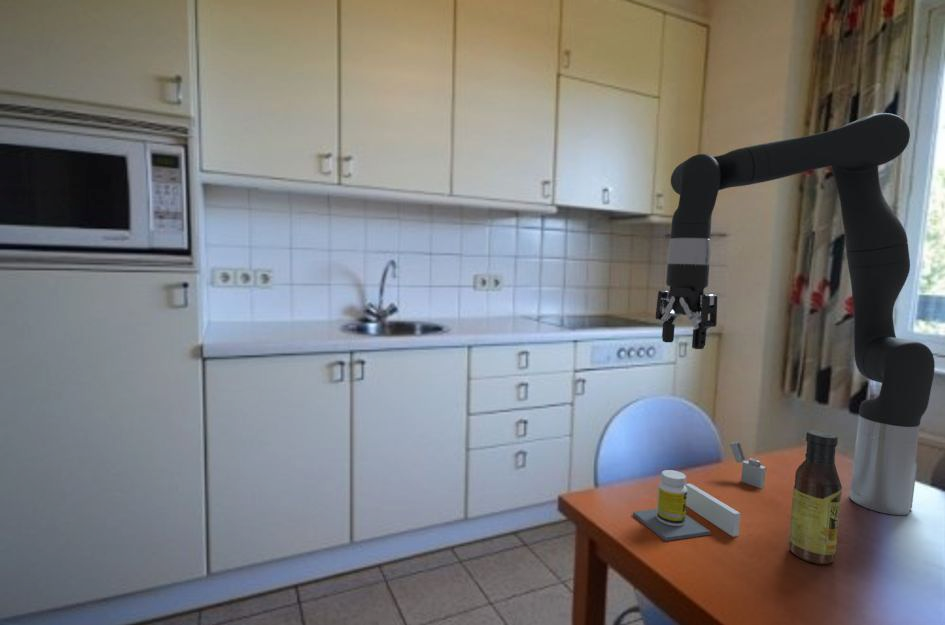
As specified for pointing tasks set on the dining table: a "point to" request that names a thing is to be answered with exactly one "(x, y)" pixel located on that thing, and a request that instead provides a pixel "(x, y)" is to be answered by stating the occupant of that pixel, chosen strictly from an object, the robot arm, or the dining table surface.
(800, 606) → the dining table surface
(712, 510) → the wall
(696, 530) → the coaster
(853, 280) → the robot arm
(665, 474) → the supplement bottle
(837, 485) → the sauce bottle
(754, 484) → the lighter
